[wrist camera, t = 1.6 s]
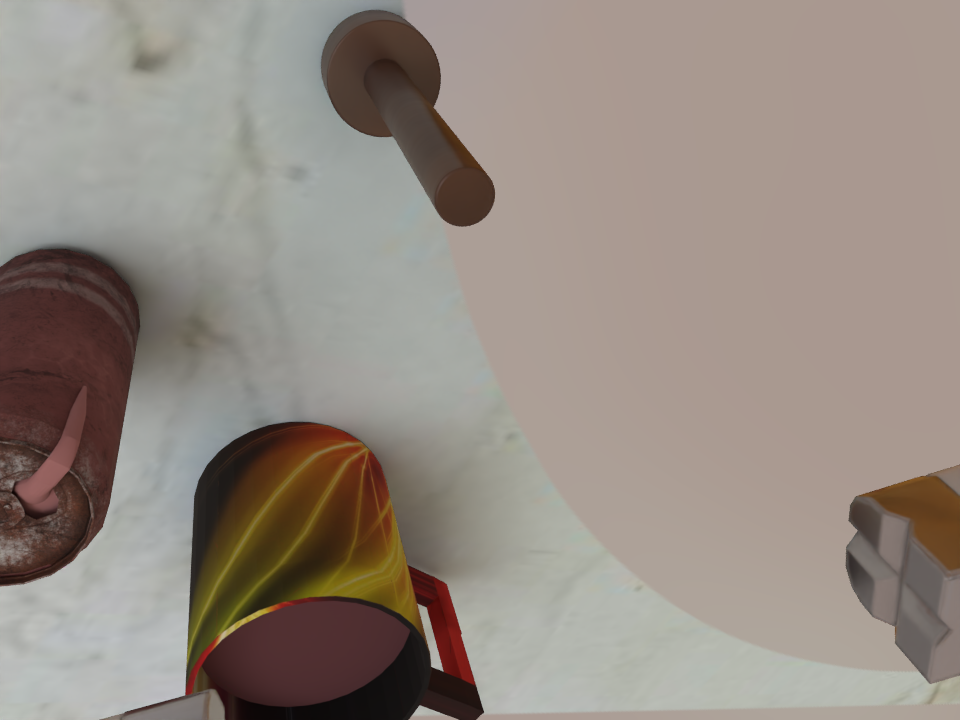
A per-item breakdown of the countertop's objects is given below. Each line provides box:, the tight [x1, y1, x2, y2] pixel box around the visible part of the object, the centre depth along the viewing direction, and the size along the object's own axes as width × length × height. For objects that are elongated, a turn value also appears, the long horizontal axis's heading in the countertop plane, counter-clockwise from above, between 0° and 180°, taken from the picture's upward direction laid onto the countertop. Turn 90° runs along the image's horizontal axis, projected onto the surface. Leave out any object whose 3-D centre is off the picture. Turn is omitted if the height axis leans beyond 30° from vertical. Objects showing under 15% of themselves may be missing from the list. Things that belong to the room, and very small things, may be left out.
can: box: [0, 249, 140, 586], centre depth 32 cm, size 6×6×14 cm
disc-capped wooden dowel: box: [321, 10, 495, 226], centre depth 30 cm, size 4×4×16 cm
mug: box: [185, 422, 484, 720], centre depth 41 cm, size 10×14×12 cm
